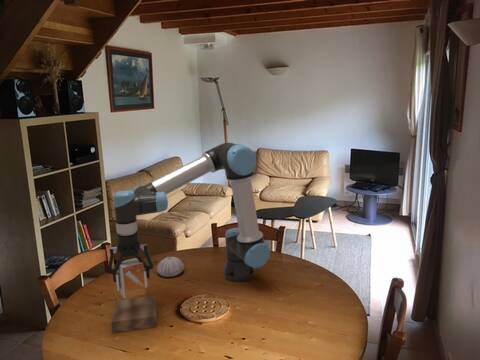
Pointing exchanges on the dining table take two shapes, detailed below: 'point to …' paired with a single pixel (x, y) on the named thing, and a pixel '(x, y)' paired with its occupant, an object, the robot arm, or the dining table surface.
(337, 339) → the dining table surface
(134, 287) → the small box
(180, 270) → the sea urchin shell
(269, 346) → the dining table surface
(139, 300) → the walnut block
